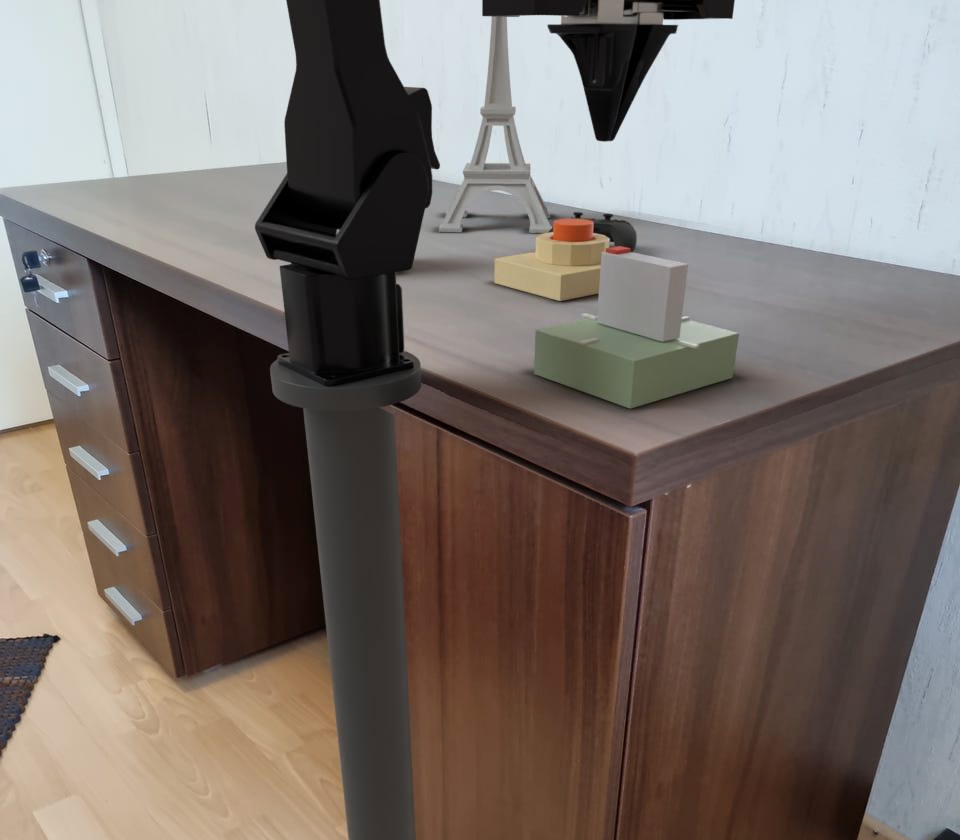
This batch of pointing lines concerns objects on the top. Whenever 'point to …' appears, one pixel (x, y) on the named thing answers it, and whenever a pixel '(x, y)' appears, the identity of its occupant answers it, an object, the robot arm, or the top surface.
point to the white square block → (641, 293)
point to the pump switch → (555, 268)
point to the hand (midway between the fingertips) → (604, 140)
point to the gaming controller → (613, 230)
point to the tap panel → (633, 360)
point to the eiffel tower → (515, 172)
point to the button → (573, 230)
